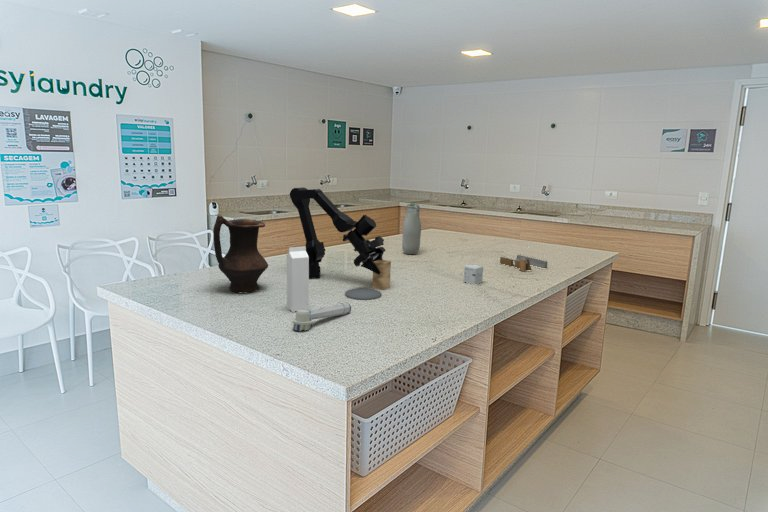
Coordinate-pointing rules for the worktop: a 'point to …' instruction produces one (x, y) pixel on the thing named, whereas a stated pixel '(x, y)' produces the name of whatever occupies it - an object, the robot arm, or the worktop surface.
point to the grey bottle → (411, 229)
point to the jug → (240, 253)
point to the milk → (297, 279)
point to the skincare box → (473, 274)
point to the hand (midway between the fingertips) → (382, 272)
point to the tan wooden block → (382, 275)
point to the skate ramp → (524, 262)
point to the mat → (363, 294)
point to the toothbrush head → (318, 315)
